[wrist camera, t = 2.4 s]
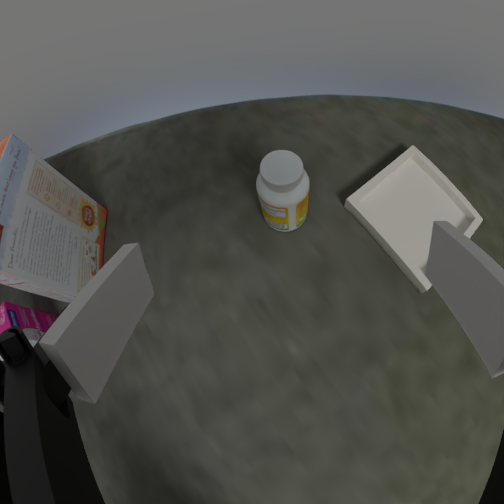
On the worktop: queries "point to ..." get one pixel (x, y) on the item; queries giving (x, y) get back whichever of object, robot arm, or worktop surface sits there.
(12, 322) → the supplement box
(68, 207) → the cracker box
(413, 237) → the tray
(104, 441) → the worktop surface
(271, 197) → the supplement bottle
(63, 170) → the worktop surface
